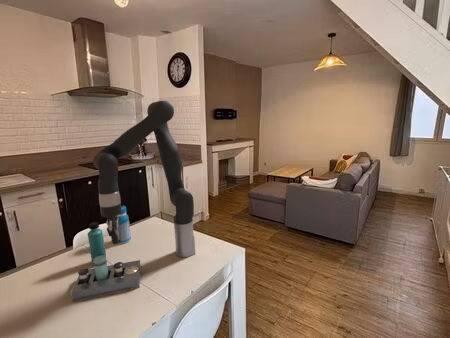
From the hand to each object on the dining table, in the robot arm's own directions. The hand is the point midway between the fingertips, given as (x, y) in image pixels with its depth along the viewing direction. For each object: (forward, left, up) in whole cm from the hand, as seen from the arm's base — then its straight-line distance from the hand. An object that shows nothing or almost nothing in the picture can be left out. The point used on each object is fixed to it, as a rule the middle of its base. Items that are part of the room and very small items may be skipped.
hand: (115, 243), depth 98 cm
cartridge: (+6, 0, -18) cm, 19 cm away
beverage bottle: (+11, -19, -18) cm, 28 cm away
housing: (+4, 0, -18) cm, 18 cm away
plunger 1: (+13, 0, -15) cm, 19 cm away
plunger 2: (0, 0, -15) cm, 15 cm away
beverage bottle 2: (+2, -38, -18) cm, 42 cm away
